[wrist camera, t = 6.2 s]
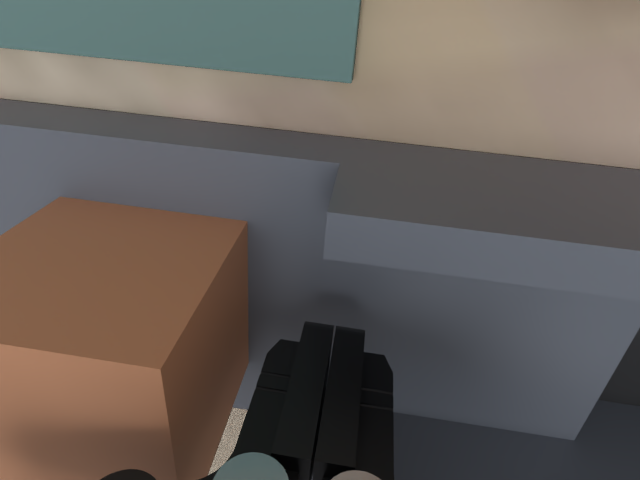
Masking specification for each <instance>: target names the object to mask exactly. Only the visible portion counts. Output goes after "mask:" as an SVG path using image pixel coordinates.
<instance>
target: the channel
mask: <svg viewBox="0 0 640 480" xmlns="http://www.w3.org/2000/svg"><path fill="white" fill-rule="evenodd" d="M59 197H67V198H75V199H83V200H90V201H98V202H105V203H113V204H121V205H128V206H136V207H143V208H151V209H159V210H166V211H174V212H181V213H189V214H197V215H204V216H212V217H219V218H227V219H235V220H242V221H247V223H248V350H249V363H248V366H247V369H246V371H245V374H244V377H243V380H242V382H241V385H240V388H239V391H238V393H237V396H236V399H235V402H234V404H233V407H234V408H240V409H247V410H248V408H249V405H250V402H251V399H252V396H253V393H254V390H255V389H256V384H257V381H258V378H259V375H260V374H261V370H262V367H263V364H264V361H265V358H266V355H267V353H268V352H269V350H270V349H271V348H272V347H273V346H274V345H275V344H276V343H277V342H278V341H279V340H280V339H284V340H290V341H297V342H300V338H301V334H302V330H303V326H304V323H305V321H308V322H315V323H321V324H328V325H334V331H333V339H332V348H333V342H334V336H335V330H336V326H342V327H349V328H355V329H362V330H365V342H364V352H369V353H375V354H381V355H385V357H386V359H387V361H388V363H389V365H390V367H391V369H392V371H393V415H394V480H640V170H637V169H628V168H619V167H610V166H601V165H592V164H583V163H574V162H565V161H556V160H547V159H538V158H529V157H520V156H511V155H502V154H493V153H484V152H475V151H466V150H457V149H448V148H439V147H430V146H421V145H412V144H403V143H394V142H385V141H376V140H367V139H358V138H349V137H340V136H331V135H322V134H313V133H304V132H295V131H286V130H277V129H268V128H259V127H250V126H241V125H232V124H223V123H214V122H205V121H196V120H187V119H178V118H169V117H160V116H151V115H142V114H133V113H124V112H115V111H105V110H96V109H87V108H78V107H69V106H60V105H51V104H42V103H33V102H24V101H15V100H6V99H0V235H2V234H3V233H5V232H7V231H8V230H10V229H11V228H13V227H14V226H16V225H17V224H19V223H20V222H22V221H23V220H25V219H26V218H28V217H30V216H31V215H33V214H34V213H36V212H37V211H39V210H40V209H42V208H43V207H45V206H46V205H48V204H49V203H51V202H53V201H54V200H56V199H57V198H59ZM332 348H331V355H332ZM330 361H331V356H330ZM329 367H330V364H329ZM328 373H329V372H328ZM313 469H314V468H313ZM312 478H313V475H312Z"/></svg>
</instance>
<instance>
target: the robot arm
mask: <svg viewBox="0 0 640 480" xmlns="http://www.w3.org/2000/svg"><path fill="white" fill-rule="evenodd" d="M333 331H334V325H328V324H321V323H315V322H308V321H305V323H304V326H303V330H302V334H301V338H300V342H297V341H290V340H284V339H280V340H279V341H278V342H277V343H276V344H275V345H274V346H273V347H272V348H271V349H270V350H269V352H268V353H267V355H266V358H265V361H264V364H263V367H262V370H261V374H260V375H259V378H258V381H257V384H256V389H255V390H254V393H253V396H252V399H251V402H250V405H249V408H248V411H247V414H246V417H245V420H244V423H243V426H242V429H241V432H240V435H239V438H238V441H237V444H236V447H235V449H234V451H233V453H232V455H231V456H230V458H229V459H228V460H227V461H226V463H225V464H224V465H223V466H222V467H220V468H219V469H218V470H216V471H215V472H214V473H212V474H210V475H208V476H206V477H204V478H201V479H198V480H394V415H393V371H392V369H391V367H390V365H389V363H388V361H387V359H386V357H385V355H381V354H375V353H369V352H364V342H365V330H362V329H355V328H349V327H342V326H336V330H335V336H334V342H333V348H332V339H333ZM331 348H332V355H331ZM330 356H331V361H330ZM329 364H330V367H329ZM328 372H329V373H328ZM313 468H314V469H313ZM312 475H313V478H312ZM100 480H156V479H155V478H154V477H153V476H152V475H151V474H149V473H147V472H145V471H142V470H138V469H126V470H120V471H116V472H114V473H111V474H109V475H107V476H105V477H103V478H102V479H100Z"/></svg>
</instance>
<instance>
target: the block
mask: <svg viewBox="0 0 640 480" xmlns="http://www.w3.org/2000/svg"><path fill="white" fill-rule="evenodd" d="M248 363H249V350H248V223H247V221H242V220H235V219H227V218H219V217H212V216H204V215H197V214H189V213H181V212H174V211H166V210H159V209H151V208H143V207H136V206H128V205H121V204H113V203H105V202H98V201H90V200H83V199H75V198H67V197H59V198H57V199H56V200H54V201H53V202H51V203H49V204H48V205H46V206H45V207H43V208H42V209H40V210H39V211H37V212H36V213H34V214H33V215H31V216H30V217H28V218H26V219H25V220H23V221H22V222H20V223H19V224H17V225H16V226H14V227H13V228H11V229H10V230H8V231H7V232H5V233H3V234H2V235H0V480H100V479H102V478H103V477H105V476H107V475H109V474H111V473H114V472H116V471H120V470H126V469H138V470H142V471H145V472H147V473H149V474H151V475H152V476H153V477H154V478H155V479H156V480H198V479H201V478H204V477H206V476H208V473H209V470H210V467H211V465H212V462H213V459H214V457H215V454H216V451H217V448H218V446H219V443H220V440H221V437H222V435H223V432H224V429H225V426H226V424H227V421H228V418H229V415H230V413H231V410H232V407H233V404H234V402H235V399H236V396H237V393H238V391H239V388H240V385H241V382H242V380H243V377H244V374H245V371H246V369H247V366H248Z"/></svg>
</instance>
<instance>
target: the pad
mask: <svg viewBox="0 0 640 480" xmlns="http://www.w3.org/2000/svg"><path fill="white" fill-rule="evenodd" d="M360 7H361V0H0V48H10V49H19V50H29V51H39V52H49V53H59V54H69V55H78V56H88V57H98V58H108V59H118V60H128V61H137V62H147V63H157V64H167V65H177V66H186V67H196V68H206V69H216V70H226V71H236V72H245V73H255V74H265V75H275V76H285V77H295V78H304V79H314V80H324V81H334V82H344V83H352V80H353V73H354V64H355V54H356V45H357V35H358V26H359V16H360Z"/></svg>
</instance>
